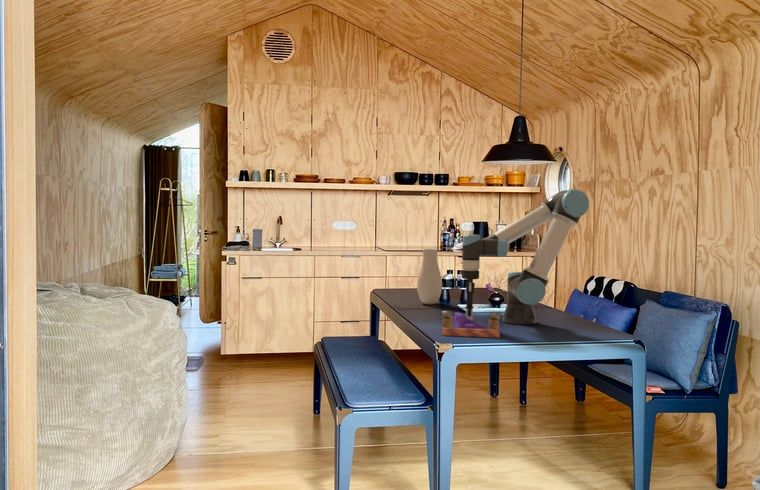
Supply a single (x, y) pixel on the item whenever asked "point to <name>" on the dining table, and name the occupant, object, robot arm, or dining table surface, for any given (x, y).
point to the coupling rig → (490, 332)
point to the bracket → (465, 322)
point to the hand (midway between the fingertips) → (469, 323)
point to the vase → (429, 278)
